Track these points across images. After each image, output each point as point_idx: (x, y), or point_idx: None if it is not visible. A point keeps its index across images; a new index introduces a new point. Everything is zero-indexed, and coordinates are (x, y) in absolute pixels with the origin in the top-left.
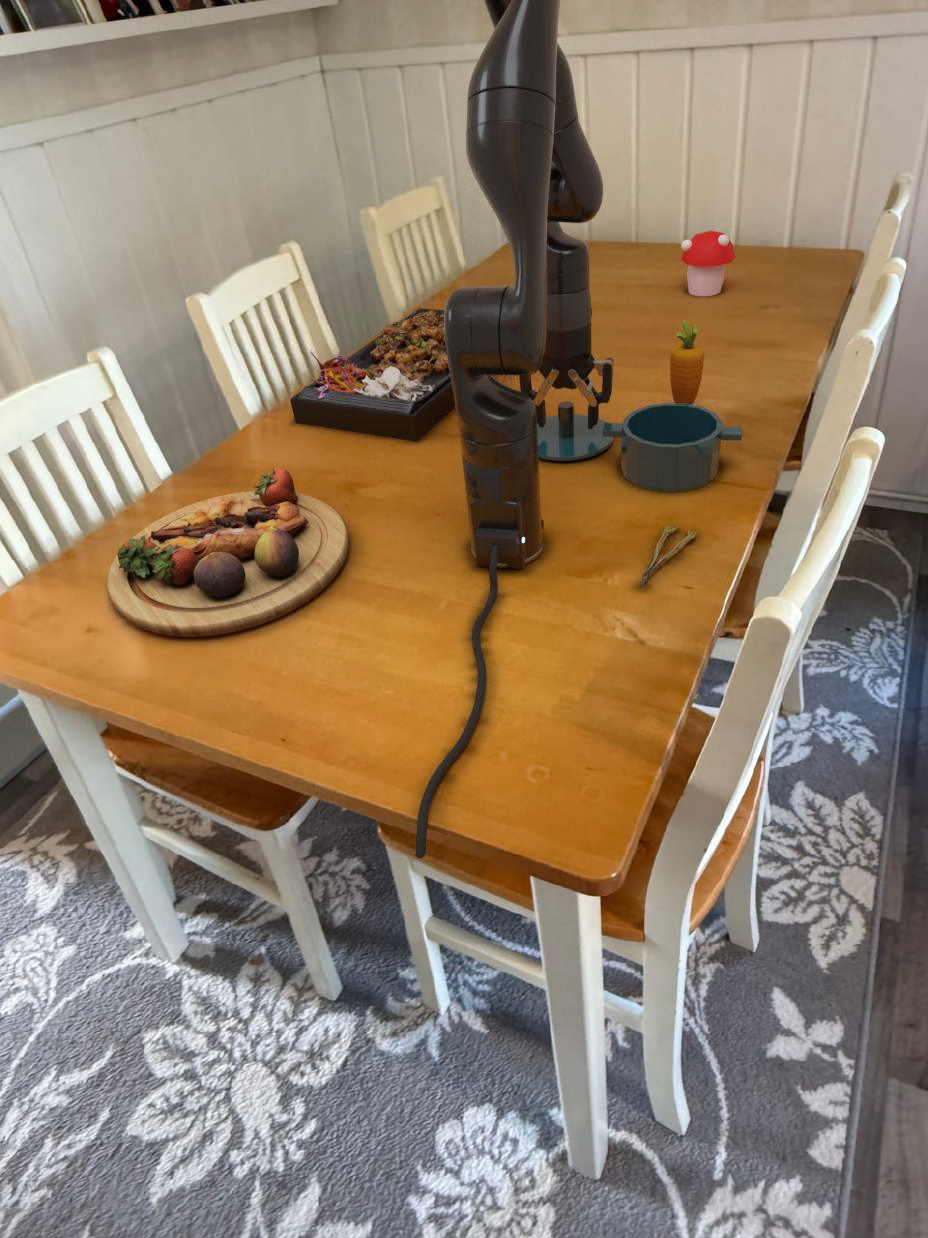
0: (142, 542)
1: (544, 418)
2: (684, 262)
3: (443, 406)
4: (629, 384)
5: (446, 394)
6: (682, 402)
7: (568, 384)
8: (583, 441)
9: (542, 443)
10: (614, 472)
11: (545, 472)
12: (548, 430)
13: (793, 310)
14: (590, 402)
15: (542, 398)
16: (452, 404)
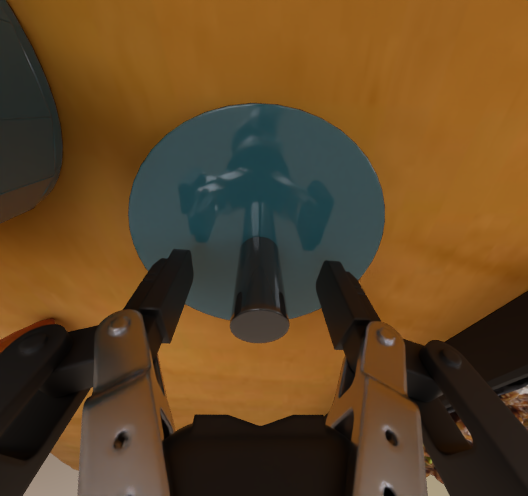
0: None
1: (325, 287)
2: None
3: (493, 341)
4: (184, 378)
5: (495, 367)
6: (5, 344)
7: (233, 461)
8: (207, 217)
9: (324, 210)
10: (46, 13)
11: (325, 28)
12: (303, 271)
13: (73, 444)
14: (133, 328)
15: (368, 352)
16: (455, 347)
